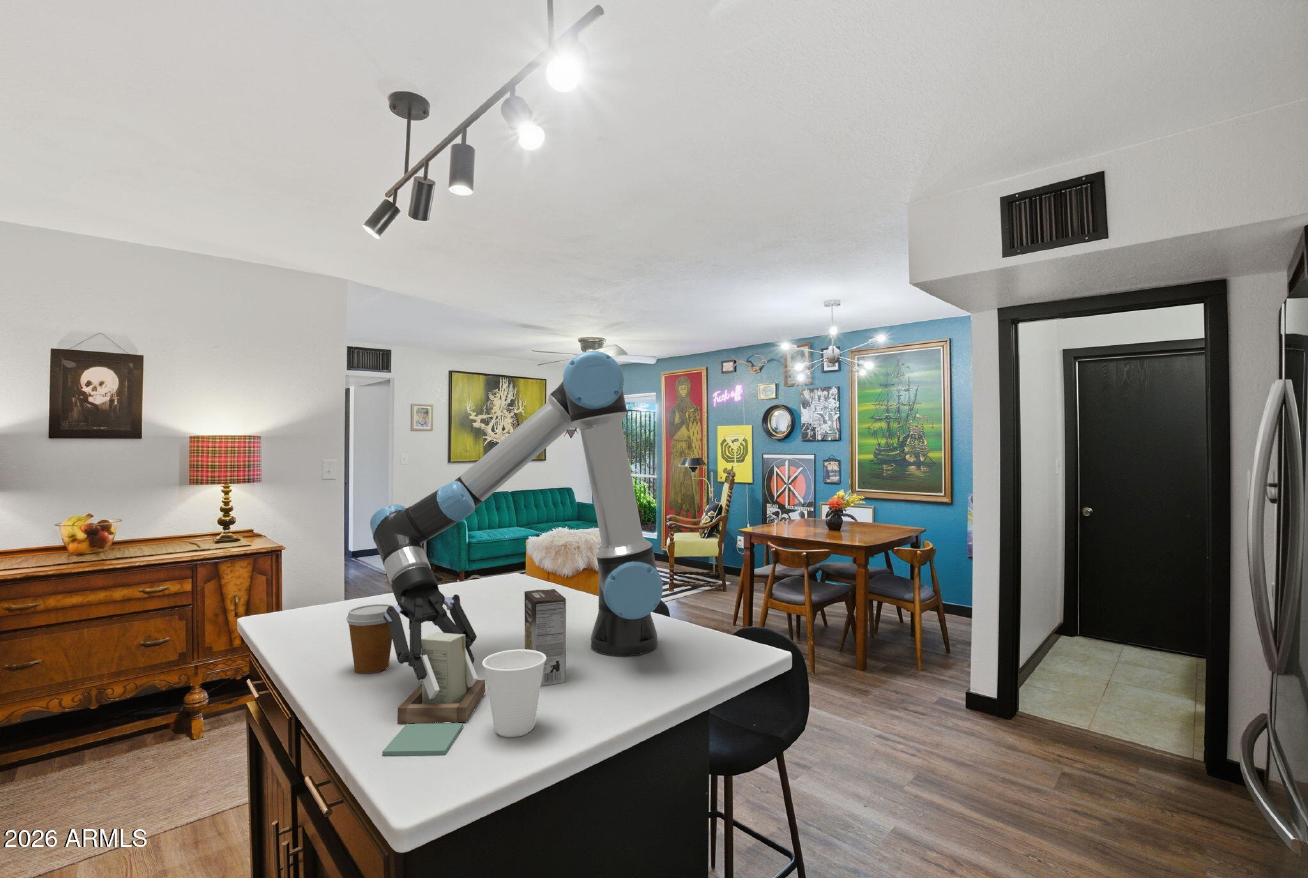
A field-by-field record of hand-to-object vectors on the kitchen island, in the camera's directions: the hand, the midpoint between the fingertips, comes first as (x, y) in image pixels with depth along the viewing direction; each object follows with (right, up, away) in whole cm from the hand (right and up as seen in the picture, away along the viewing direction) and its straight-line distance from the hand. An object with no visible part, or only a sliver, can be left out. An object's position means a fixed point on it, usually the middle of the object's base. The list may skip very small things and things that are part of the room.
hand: (454, 688), depth 102 cm
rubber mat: (-1, -4, -10) cm, 10 cm away
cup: (+11, -4, -6) cm, 14 cm away
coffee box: (+12, -5, +17) cm, 21 cm away
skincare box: (-3, -4, +2) cm, 6 cm away
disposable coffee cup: (-24, -5, +22) cm, 33 cm away
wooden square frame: (-3, -4, +2) cm, 6 cm away
